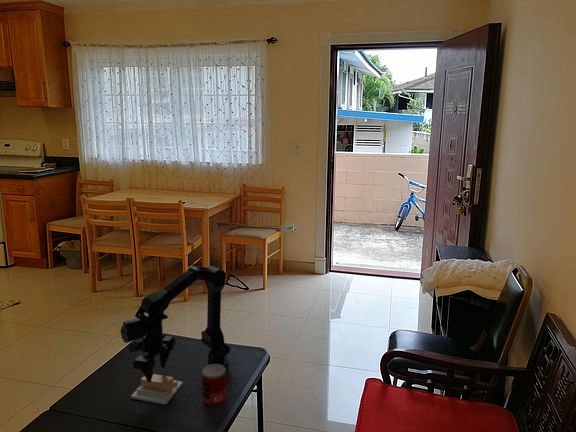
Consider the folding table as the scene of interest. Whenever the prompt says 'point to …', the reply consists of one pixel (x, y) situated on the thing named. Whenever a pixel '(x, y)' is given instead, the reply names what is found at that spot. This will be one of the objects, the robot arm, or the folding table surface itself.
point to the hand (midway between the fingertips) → (156, 374)
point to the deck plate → (156, 394)
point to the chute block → (158, 383)
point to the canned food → (214, 384)
